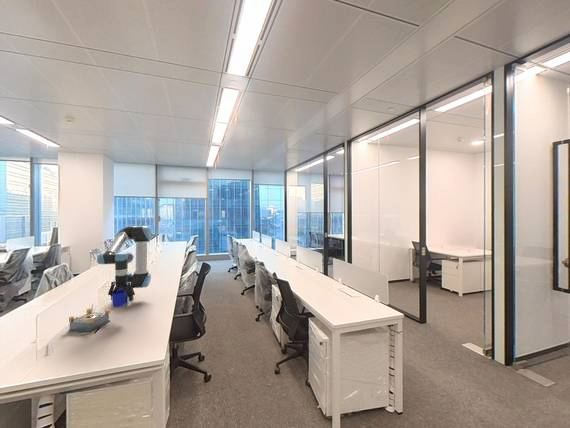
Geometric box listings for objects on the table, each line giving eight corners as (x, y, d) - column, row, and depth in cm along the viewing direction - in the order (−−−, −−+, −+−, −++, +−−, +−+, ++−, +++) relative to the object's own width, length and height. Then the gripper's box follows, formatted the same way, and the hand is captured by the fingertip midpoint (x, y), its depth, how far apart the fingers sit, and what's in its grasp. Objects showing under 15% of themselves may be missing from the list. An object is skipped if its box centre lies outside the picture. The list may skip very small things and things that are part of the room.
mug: (123, 309, 179) (123, 294, 179) (109, 307, 181) (109, 293, 181) (132, 304, 187) (132, 291, 187) (118, 303, 189) (118, 289, 189)
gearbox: (87, 320, 184) (87, 308, 183) (110, 321, 182) (110, 309, 182) (64, 331, 166) (64, 318, 166) (90, 332, 165) (90, 319, 165)
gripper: (101, 275, 181) (101, 306, 181) (133, 276, 179) (133, 307, 179) (109, 272, 188) (110, 302, 189) (140, 274, 186) (140, 303, 187)
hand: (121, 305), depth 184 cm, fingers closed on mug, 11 cm apart
